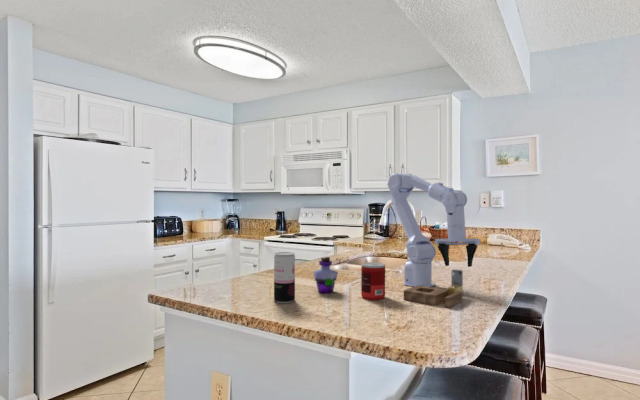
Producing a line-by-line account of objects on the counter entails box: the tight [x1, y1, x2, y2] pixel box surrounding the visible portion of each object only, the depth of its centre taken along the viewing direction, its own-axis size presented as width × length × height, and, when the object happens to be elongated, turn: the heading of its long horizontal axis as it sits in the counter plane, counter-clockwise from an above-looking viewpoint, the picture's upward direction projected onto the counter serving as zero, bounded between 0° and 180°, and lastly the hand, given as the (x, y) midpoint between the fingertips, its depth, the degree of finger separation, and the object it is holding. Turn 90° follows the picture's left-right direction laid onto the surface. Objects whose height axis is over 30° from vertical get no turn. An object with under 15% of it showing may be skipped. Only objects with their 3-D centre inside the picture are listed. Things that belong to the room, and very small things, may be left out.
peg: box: [450, 269, 464, 296], centre depth 134 cm, size 4×4×8 cm
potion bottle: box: [312, 256, 338, 295], centre depth 137 cm, size 9×9×12 cm
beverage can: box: [273, 251, 296, 304], centre depth 125 cm, size 6×6×15 cm
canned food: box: [360, 261, 386, 301], centre depth 129 cm, size 8×8×11 cm
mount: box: [403, 285, 463, 309], centre depth 125 cm, size 15×10×3 cm, turn 50°
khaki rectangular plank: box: [447, 285, 462, 296], centre depth 128 cm, size 2×6×4 cm, turn 140°
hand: (458, 266), depth 134 cm, fingers open, 7 cm apart
